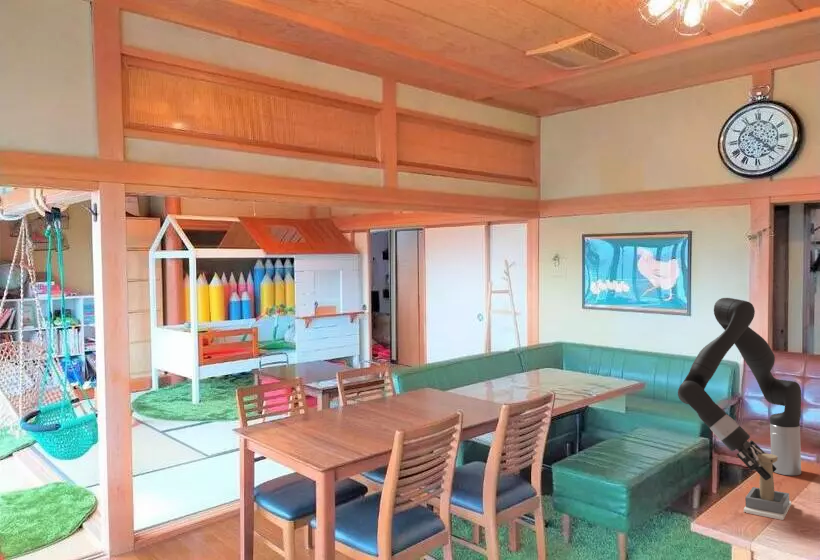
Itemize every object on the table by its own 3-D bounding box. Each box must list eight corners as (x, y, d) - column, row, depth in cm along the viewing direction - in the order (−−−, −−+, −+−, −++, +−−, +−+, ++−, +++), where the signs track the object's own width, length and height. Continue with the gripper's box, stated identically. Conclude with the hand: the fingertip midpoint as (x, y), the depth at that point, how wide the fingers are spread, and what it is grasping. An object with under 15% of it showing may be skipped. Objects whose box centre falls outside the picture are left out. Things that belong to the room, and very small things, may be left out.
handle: (782, 506, 186) (780, 457, 186) (764, 508, 184) (762, 459, 184) (770, 500, 190) (769, 453, 190) (752, 502, 189) (750, 454, 189)
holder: (753, 497, 196) (753, 485, 196) (791, 504, 189) (790, 491, 189) (743, 512, 184) (743, 499, 184) (783, 520, 178) (782, 506, 178)
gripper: (733, 430, 186) (777, 474, 179) (743, 420, 197) (785, 461, 190) (714, 444, 189) (757, 488, 182) (726, 434, 200) (766, 475, 193)
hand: (771, 474), depth 186 cm, fingers open, 8 cm apart
